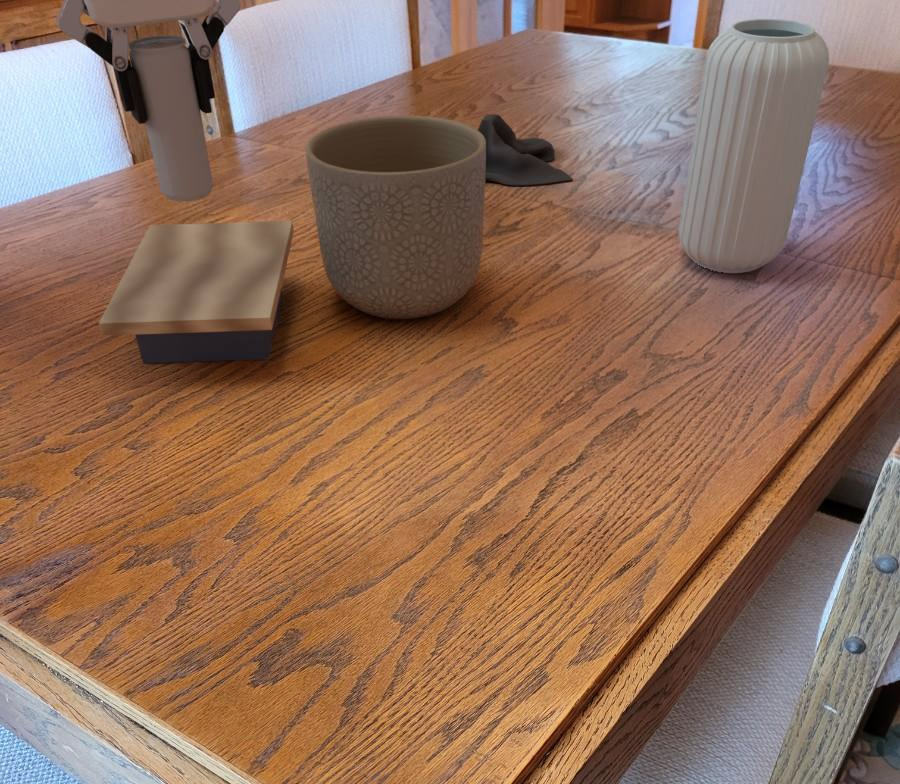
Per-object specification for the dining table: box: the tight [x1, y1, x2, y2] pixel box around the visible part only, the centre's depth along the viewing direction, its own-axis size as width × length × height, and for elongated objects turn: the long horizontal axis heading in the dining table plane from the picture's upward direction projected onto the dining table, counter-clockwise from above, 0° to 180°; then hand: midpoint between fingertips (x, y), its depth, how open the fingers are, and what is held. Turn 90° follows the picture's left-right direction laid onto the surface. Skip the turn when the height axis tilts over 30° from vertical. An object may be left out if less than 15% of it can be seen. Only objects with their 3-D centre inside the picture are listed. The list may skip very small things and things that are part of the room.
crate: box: [134, 287, 284, 364], centre depth 89 cm, size 12×14×5 cm
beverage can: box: [128, 35, 214, 203], centre depth 78 cm, size 5×5×12 cm
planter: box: [305, 115, 486, 320], centre depth 90 cm, size 17×17×15 cm
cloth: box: [477, 113, 573, 187], centre depth 122 cm, size 22×19×6 cm
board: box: [98, 220, 295, 336], centre depth 87 cm, size 15×22×1 cm
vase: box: [677, 18, 830, 274], centre depth 93 cm, size 12×12×22 cm
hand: (171, 111), depth 77 cm, fingers closed on beverage can, 4 cm apart
